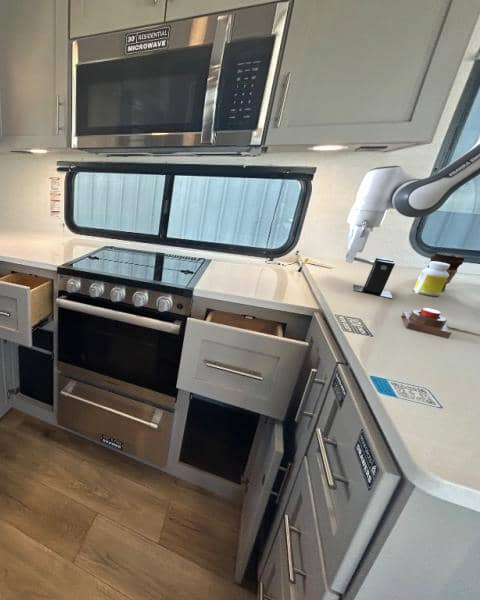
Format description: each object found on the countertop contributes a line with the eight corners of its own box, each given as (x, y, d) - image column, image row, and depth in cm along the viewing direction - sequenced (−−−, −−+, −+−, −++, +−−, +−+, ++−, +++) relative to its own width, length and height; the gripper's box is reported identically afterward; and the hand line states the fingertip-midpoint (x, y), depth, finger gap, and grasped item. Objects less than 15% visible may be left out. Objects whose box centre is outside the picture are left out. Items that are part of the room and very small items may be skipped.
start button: (418, 312, 90) (421, 306, 89) (436, 316, 88) (439, 310, 87) (420, 316, 87) (423, 310, 86) (439, 320, 85) (442, 314, 84)
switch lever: (345, 261, 111) (349, 254, 110) (345, 258, 114) (349, 252, 113) (387, 272, 105) (391, 265, 104) (385, 269, 109) (389, 262, 108)
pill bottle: (441, 300, 109) (459, 267, 104) (417, 297, 111) (433, 264, 106) (430, 294, 115) (446, 262, 110) (407, 290, 117) (422, 259, 112)
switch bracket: (352, 293, 111) (366, 259, 106) (352, 287, 117) (365, 255, 112) (391, 301, 105) (407, 266, 101) (388, 294, 111) (404, 261, 107)
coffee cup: (454, 295, 115) (474, 259, 110) (425, 291, 118) (443, 255, 113) (438, 287, 123) (456, 253, 118) (411, 283, 125) (427, 250, 120)
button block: (401, 316, 94) (406, 305, 93) (439, 325, 90) (445, 313, 89) (405, 328, 87) (411, 316, 86) (448, 338, 83) (455, 326, 81)
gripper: (380, 224, 97) (361, 268, 103) (375, 217, 112) (359, 256, 118) (353, 221, 101) (336, 264, 106) (352, 215, 116) (337, 253, 121)
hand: (348, 260), depth 112 cm, fingers closed on switch lever, 5 cm apart
